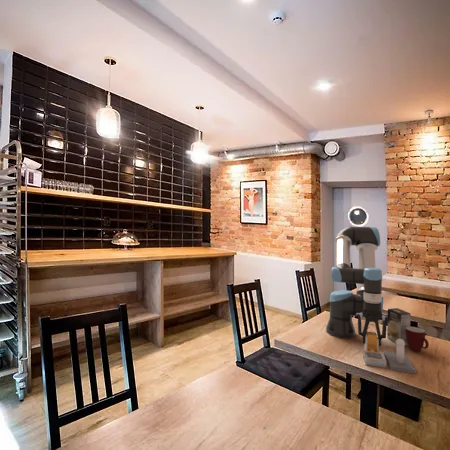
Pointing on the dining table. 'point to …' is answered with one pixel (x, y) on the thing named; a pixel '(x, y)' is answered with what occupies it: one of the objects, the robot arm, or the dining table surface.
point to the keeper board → (399, 366)
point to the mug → (416, 338)
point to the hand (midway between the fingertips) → (371, 351)
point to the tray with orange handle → (373, 352)
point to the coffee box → (397, 324)
